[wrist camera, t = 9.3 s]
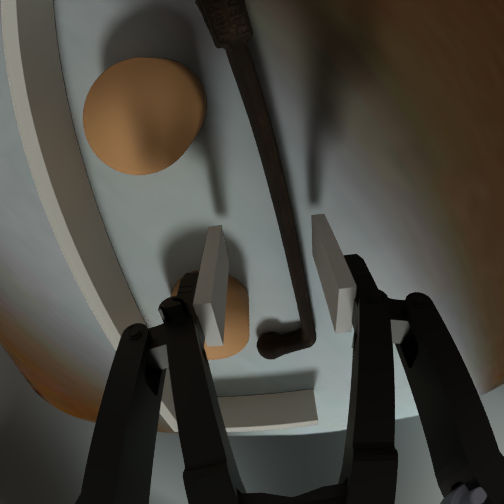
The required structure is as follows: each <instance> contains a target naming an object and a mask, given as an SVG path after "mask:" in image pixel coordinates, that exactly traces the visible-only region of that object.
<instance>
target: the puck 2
mask: <svg viewBox="0 0 504 504" xmlns="http://www.w3.org/2000/svg"><path fill="white" fill-rule="evenodd" d="M195 272H199V271H195ZM195 272H192V273H195ZM183 277H184V276H183ZM183 277H182V278H183ZM182 278H181V279H182ZM181 279H180V280H179V281H178V282H177V283H176V284H175V286H174V288H173V291H172V295H171V297H173V296H177V294H178V293H177V292H178V288H179V284H180V281H181ZM248 340H249V297H248V294H247V291H246V289H245V288H244V286H243V285H242V284H241V283H240V282H239V281H238V280H236V279H235V278H234V277H232V276H230V275H228V285H227V299H226V313H225V327H224V342H223V346H208V347H207V344H206V341H205V343H204V349H205V351H206V355H207V359H209V360H214V359H223V358H227V357H230V356H233V355H235V354H237V353H238V352H240V351H241V350H242V349H243V348H244V347H245V346H246V344H247V342H248Z"/></svg>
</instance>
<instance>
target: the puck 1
mask: <svg viewBox="0 0 504 504" xmlns="http://www.w3.org/2000/svg"><path fill="white" fill-rule="evenodd" d="M206 111H207V101H206V95H205V91H204V88H203V86H202V84H201V82H200V80H199V79H198V77H197V76H196V75H195V74H194V73H193V72H192V71H191V70H190V69H189V68H187V67H186V66H185V65H183V64H181V63H179V62H176V61H173V60H168V59H160V58H147V57H138V58H131V59H127V60H124V61H121V62H119V63H117V64H115V65H113V66H111V67H110V68H108V69H107V70H106V71H104V72H103V73H102V74H101V75H100V76H99V77H98V79H97V80H96V81H95V82H94V84H93V85H92V87H91V89H90V91H89V93H88V95H87V98H86V101H85V105H84V110H83V126H84V131H85V135H86V138H87V140H88V143H89V145H90V147H91V148H92V150H93V151H94V153H95V154H96V155H97V156H98V158H100V159H101V160H102V161H103V162H104V163H105V164H107V165H108V166H109V167H111V168H113V169H115V170H117V171H120V172H123V173H126V174H132V175H146V174H151V173H155V172H158V171H161V170H163V169H165V168H167V167H169V166H170V165H172V164H173V163H174V162H176V161H177V160H178V159H179V158H180V157H181V156H182V155H183V154H184V152H185V151H186V150H187V148H188V147H189V146H190V144H191V143H192V141H193V140H194V139H195V137H196V136H197V134H198V133H199V131H200V130H201V128H202V125H203V123H204V120H205V117H206Z"/></svg>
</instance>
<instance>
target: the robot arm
mask: <svg viewBox="0 0 504 504" xmlns="http://www.w3.org/2000/svg"><path fill="white" fill-rule="evenodd" d="M311 216H312V252H313V257H314V261H315V264H316V267H317V271H318V274H319V277H320V281H321V284H322V288H323V291H324V294H325V298H326V301H327V305H328V309H329V312H330V316H331V319H332V323H333V327H334V330H335V334H336V333H342V332H349V331H351V328H352V325H353V328H354V337H353V343H352V348H353V360H352V377H351V391H350V403H349V414H348V424H347V434H346V442H345V449H344V457H343V465H342V469H341V474H340V477H339V482H338V484H337V485H331V486H325V487H321V488H319V489H316V490H313V491H310V492H307V493H304V494H302V495H299V496H296V497H286V496H279V495H273V494H266V493H246V490H245V488H244V486H243V483H242V481H241V478H240V475H239V472H238V469H237V466H236V462H235V459H234V456H233V452H232V449H231V446H230V442H229V439H228V435H227V432H226V428H225V425H224V421H223V417H222V414H221V410H220V406H219V403H218V399H217V395H216V391H215V387H214V383H213V379H212V375H211V371H210V367H209V363H208V359H207V355H206V351H205V349H204V343H205V341H206V344H207V347H208V346H223V342H224V327H225V313H226V299H227V285H228V273H229V260H228V255H227V250H226V245H225V240H224V235H223V230H222V225H219V226H211V227H209V228H208V233H207V237H206V242H205V247H204V251H203V256H202V261H201V266H200V271H199V272H195V273H186V274H185V275H184V277H183V278H182V279H181V281H180V284H179V288H178V292H177V293H178V294H177V296H173V297H170V298H167V299H165V300H164V301H163V302H162V303H161V304H160V306H159V309H158V310H159V313H160V315H161V317H162V320H163V322H164V323H163V324H161V325H159V326H156V327H152V328H149V329H148V328H147V326H146V325H144V324H142V323H136V324H132V325H130V326H128V327H127V328H126V329H125V330H124V331H123V333H122V335H121V338H120V341H119V344H118V347H117V350H116V354H115V357H114V360H113V363H112V367H111V370H110V373H109V377H108V380H107V383H106V387H105V390H104V394H103V398H102V401H101V405H100V409H99V413H98V416H97V420H96V425H95V428H94V433H93V437H92V441H91V446H90V450H89V455H88V459H87V464H86V469H85V474H84V479H83V485H82V491H81V495H80V496H79V497H78V499H77V501H76V503H75V504H149V495H150V484H151V475H152V466H153V458H154V449H155V442H156V434H157V427H158V420H159V413H160V406H161V400H162V393H163V387H164V381H165V375H166V369H167V368H169V372H170V380H171V387H172V394H173V401H174V408H175V414H176V420H177V426H178V432H179V437H180V443H181V448H182V453H183V458H184V463H185V470H184V472H183V480H184V485H185V490H186V494H187V498H188V503H189V504H394V502H395V492H396V482H397V468H398V453H397V450H396V449H395V447H394V433H395V384H394V360H393V344H392V343H395V345H396V348H397V351H398V353H399V356H400V359H401V362H402V364H403V367H404V370H405V373H406V376H407V379H408V382H409V385H410V388H411V391H412V394H413V397H414V400H415V403H416V406H417V410H418V413H419V416H420V419H421V423H422V426H423V430H424V433H425V437H426V440H427V444H428V447H429V452H430V455H431V459H432V463H433V468H434V472H435V476H436V479H437V482H438V485H439V488H440V490H441V492H442V495H443V497H444V499H443V500H442V502H441V503H440V504H504V456H503V455H502V454H501V453H500V451H499V449H498V446H497V443H496V440H495V437H494V434H493V431H492V428H491V426H490V423H489V420H488V417H487V415H486V412H485V410H484V407H483V405H482V402H481V400H480V397H479V395H478V393H477V390H476V388H475V386H474V383H473V381H472V379H471V376H470V374H469V372H468V370H467V368H466V366H465V363H464V361H463V359H462V357H461V355H460V353H459V351H458V349H457V347H456V345H455V343H454V341H453V339H452V337H451V335H450V333H449V331H448V329H447V327H446V325H445V323H444V322H443V320H442V318H441V316H440V314H439V312H438V311H437V309H436V307H435V305H434V303H433V302H432V300H431V299H430V298H429V296H427V295H425V294H423V293H419V292H414V293H411V294H409V295H408V296H407V297H406V299H405V300H395V299H390V298H388V297H387V295H386V294H385V293H384V292H383V291H381V290H378V288H377V286H376V284H375V282H374V280H373V277H372V275H371V273H370V272H369V269H368V267H367V265H366V264H365V262H364V260H363V259H362V258H361V257H360V256H359V255H357V254H352V255H343V254H342V251H341V249H340V247H339V245H338V242H337V240H336V238H335V236H334V234H333V232H332V229H331V227H330V225H329V223H328V221H327V219H326V216H325V214H318V215H311Z"/></svg>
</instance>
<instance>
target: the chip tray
mask: <svg viewBox="0 0 504 504" xmlns="http://www.w3.org/2000/svg"><path fill="white" fill-rule="evenodd" d="M1 17H2V33H3V44H4V53H5V61H6V68H7V75H8V81H9V87H10V92H11V97H12V102H13V107H14V112H15V116H16V120H17V124H18V128H19V132H20V136H21V140H22V144H23V147H24V151H25V154H26V157H27V161H28V164H29V167H30V170H31V173H32V176H33V179H34V182H35V185H36V188H37V191H38V194H39V197H40V199H41V202H42V205H43V207H44V210H45V213H46V215H47V218H48V220H49V223H50V225H51V227H52V230H53V232H54V235H55V237H56V239H57V241H58V244H59V246H60V248H61V250H62V253H63V255H64V257H65V259H66V261H67V263H68V265H69V268H70V270H71V272H72V274H73V276H74V278H75V280H76V282H77V284H78V286H79V288H80V290H81V291H82V293H83V295H84V297H85V299H86V301H87V303H88V304H89V306H90V308H91V310H92V312H93V313H94V315H95V317H96V319H97V321H98V322H99V324H100V326H101V327H102V329H103V331H104V332H105V334H106V336H107V337H108V339H109V341H110V342H111V344H112V345H113V347H114V349H115V350H117V347H118V344H119V341H120V338H121V335H122V333H123V331H124V330H125V329H126V328H127V327H128V326H130V325H132V324H136V323H142V324H144V325H146V324H145V322H144V320H143V317H142V315H141V313H140V311H139V309H138V307H137V305H136V302H135V300H134V298H133V296H132V294H131V291H130V289H129V287H128V285H127V282H126V280H125V278H124V275H123V273H122V271H121V268H120V266H119V263H118V261H117V258H116V256H115V253H114V251H113V248H112V246H111V243H110V241H109V238H108V235H107V233H106V230H105V227H104V225H103V222H102V219H101V216H100V213H99V210H98V208H97V205H96V202H95V199H94V196H93V193H92V190H91V187H90V183H89V180H88V177H87V174H86V170H85V167H84V164H83V160H82V157H81V153H80V150H79V146H78V142H77V138H76V134H75V131H74V127H73V122H72V118H71V114H70V110H69V105H68V101H67V96H66V91H65V86H64V81H63V75H62V70H61V64H60V57H59V51H58V44H57V36H56V28H55V18H54V7H53V0H1ZM217 399H218V403H219V406H220V410H221V414H222V417H223V421H224V425H225V428H226V432H244V431H261V430H274V429H284V428H294V427H302V426H310V425H317V424H318V416H317V410H316V404H315V397H314V391H313V389H309V390H302V391H293V392H284V393H274V394H263V395H250V396H234V397H217ZM160 414H161V415H162V417H163V418H164V419H165V421H166V422H167V423H168V424H169V426H170V427H171V428H172V429H173V430H174V432H178V426H177V420H176V414H175V408H174V401H173V394H172V387H171V380H170V372H169V368H167V369H166V375H165V381H164V387H163V393H162V400H161V406H160Z"/></svg>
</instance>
